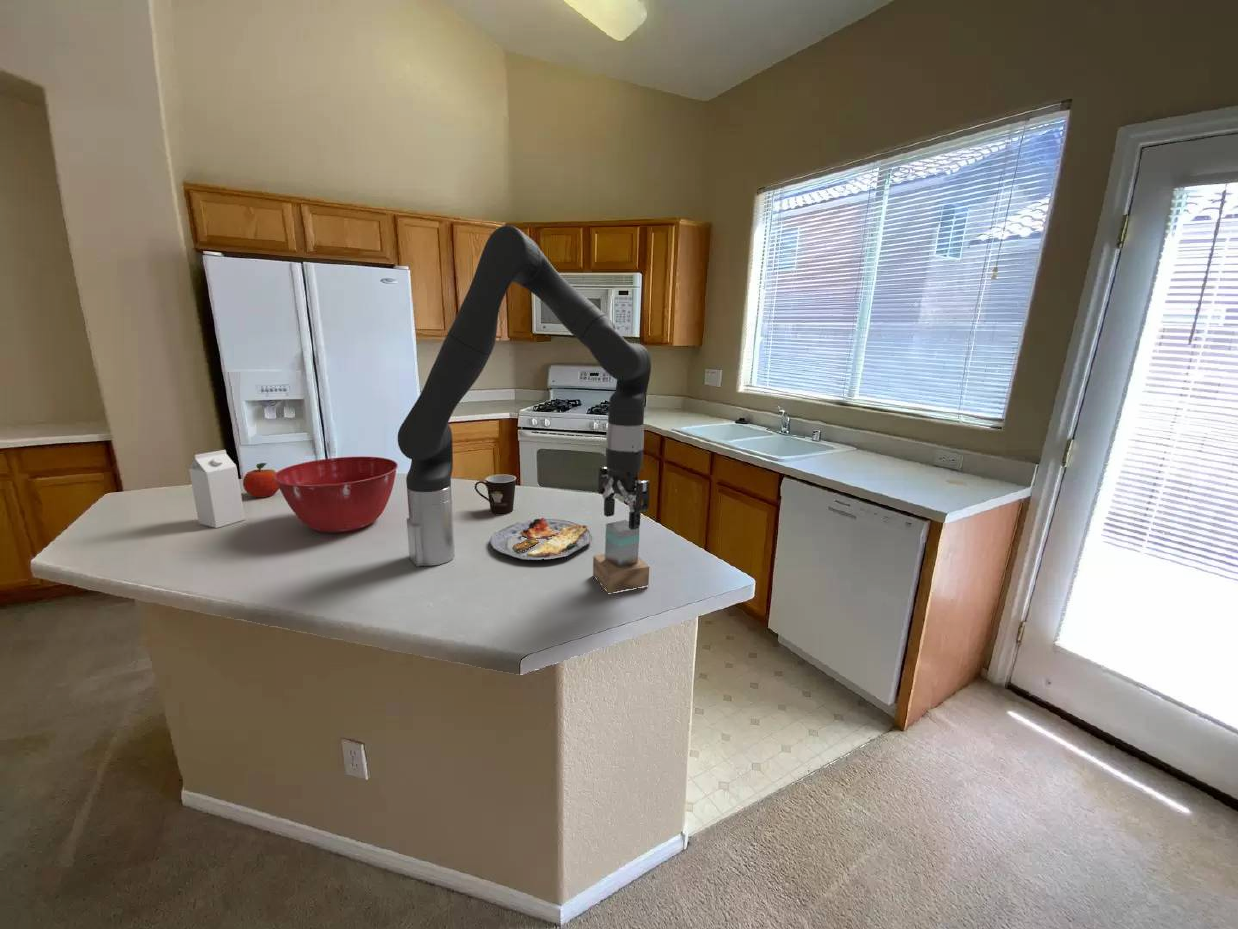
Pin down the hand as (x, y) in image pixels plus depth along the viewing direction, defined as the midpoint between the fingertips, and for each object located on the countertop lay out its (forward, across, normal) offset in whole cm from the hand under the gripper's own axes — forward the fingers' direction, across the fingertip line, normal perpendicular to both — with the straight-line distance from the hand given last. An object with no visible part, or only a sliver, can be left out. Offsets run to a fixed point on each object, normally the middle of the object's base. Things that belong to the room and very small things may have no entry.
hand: (621, 522), depth 104 cm
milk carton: (+15, -85, -68) cm, 110 cm away
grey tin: (+9, 0, 0) cm, 9 cm away
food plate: (+14, -27, -4) cm, 31 cm away
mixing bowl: (+15, -67, -42) cm, 80 cm away
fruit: (+15, -106, -58) cm, 122 cm away
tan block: (+14, 0, 0) cm, 14 cm away
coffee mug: (+14, -56, -3) cm, 58 cm away
